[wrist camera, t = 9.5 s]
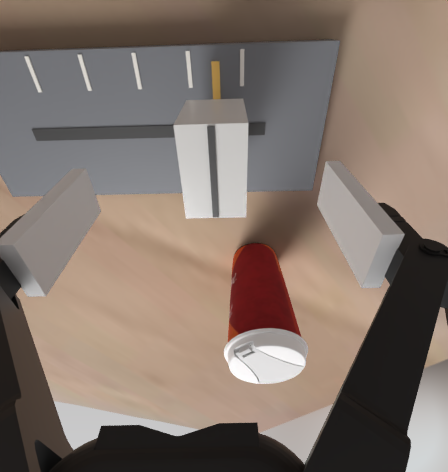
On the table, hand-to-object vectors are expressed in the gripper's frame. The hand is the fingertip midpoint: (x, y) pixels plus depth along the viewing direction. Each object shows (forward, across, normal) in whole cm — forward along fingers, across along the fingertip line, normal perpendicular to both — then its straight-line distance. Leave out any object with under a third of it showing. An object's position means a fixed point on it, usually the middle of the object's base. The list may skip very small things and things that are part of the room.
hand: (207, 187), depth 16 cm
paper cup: (+12, -5, +17) cm, 21 cm away
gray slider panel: (+12, +5, 0) cm, 13 cm away
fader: (+10, 0, 0) cm, 10 cm away
